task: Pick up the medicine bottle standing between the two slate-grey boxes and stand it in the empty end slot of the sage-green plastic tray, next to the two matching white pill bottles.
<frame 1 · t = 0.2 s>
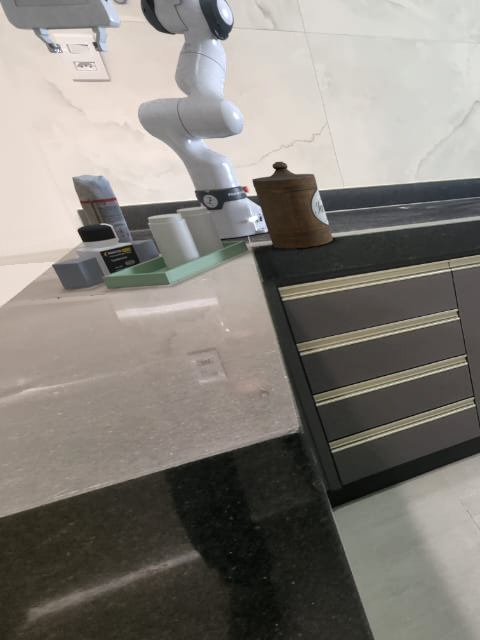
hand: (79, 52, 119), 48 cm above the counter, tool pointing down, fingers open, 8 cm apart
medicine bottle: (118, 276, 126), on the counter
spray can: (118, 244, 162), on the counter
white bottle 1: (210, 256, 137), point 1 cm above the counter, touching tray
grey box 2: (87, 287, 117), on the counter
wooden container: (304, 244, 150), on the counter
white bottle 2: (185, 266, 128), point 1 cm above the counter, touching tray
grey box 1: (145, 266, 134), on the counter
tray: (186, 269, 129), on the counter
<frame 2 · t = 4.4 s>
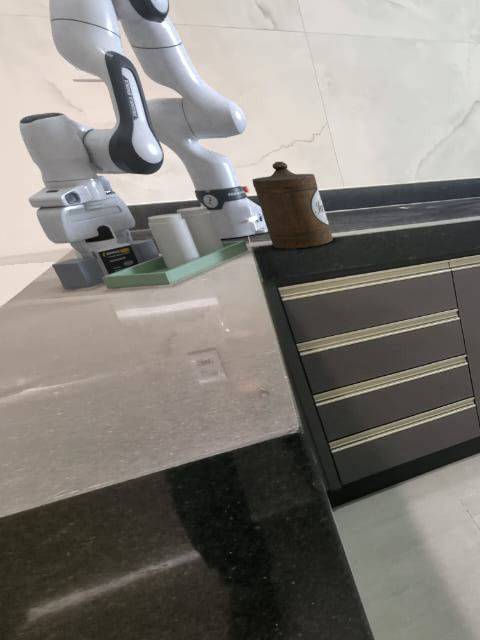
hand: (107, 255, 123), 5 cm above the counter, tool pointing down, fingers closed on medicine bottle, 8 cm apart
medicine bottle: (117, 277, 125), on the counter, touching gripper
everything else where it was.
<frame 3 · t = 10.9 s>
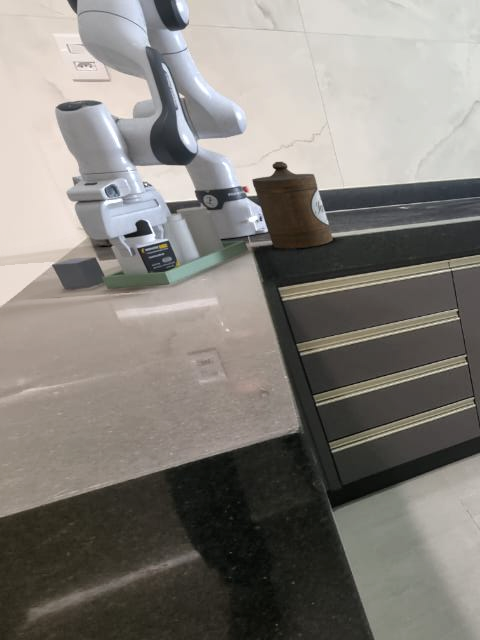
hand: (145, 251, 117), 7 cm above the counter, tool pointing down, fingers closed on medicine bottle, 8 cm apart
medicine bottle: (154, 274, 119), point 1 cm above the counter, touching gripper
white bottle 2: (185, 266, 128), point 1 cm above the counter, touching gripper, tray
everything else where it was.
when the fingers open (6 cm above the counter, at t = 12.1 s): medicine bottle stays where it is, resting on tray.
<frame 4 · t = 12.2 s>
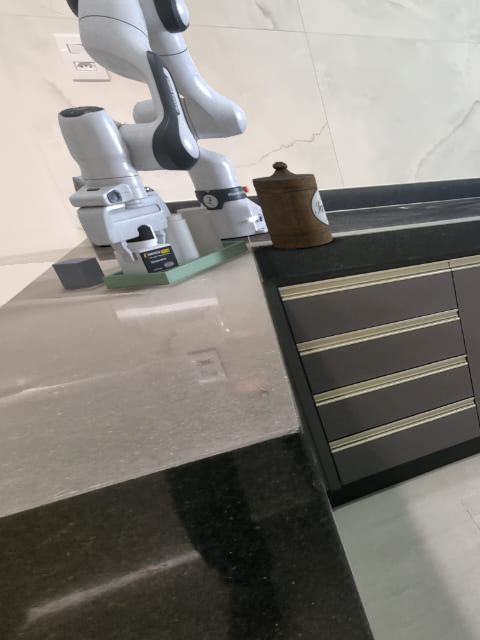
hand: (147, 256, 117), 6 cm above the counter, tool pointing down, fingers open, 8 cm apart
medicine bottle: (156, 279, 120), resting on tray, touching gripper
everything else where it was.
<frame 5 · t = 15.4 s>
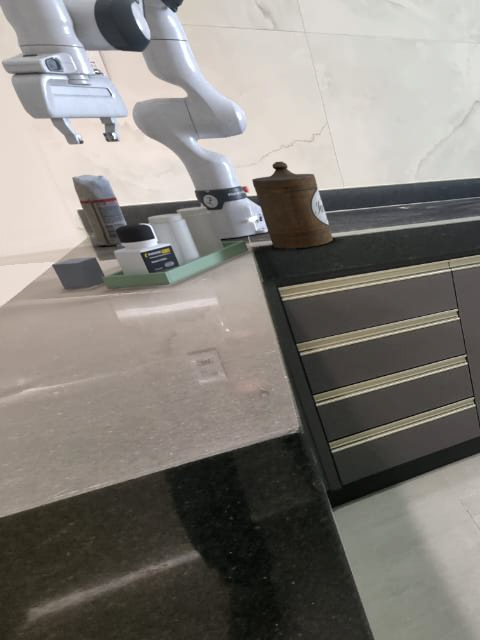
hand: (96, 143, 107), 29 cm above the counter, tool pointing down, fingers open, 8 cm apart
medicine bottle: (156, 279, 120), resting on tray
white bottle 2: (185, 266, 128), point 1 cm above the counter, touching tray
everything else where it was.
at the end: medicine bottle 0.4 cm from the target spot in the tray, point 0.4 cm above the tray's base; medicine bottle tilted 0°; the gripper is holding nothing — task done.
